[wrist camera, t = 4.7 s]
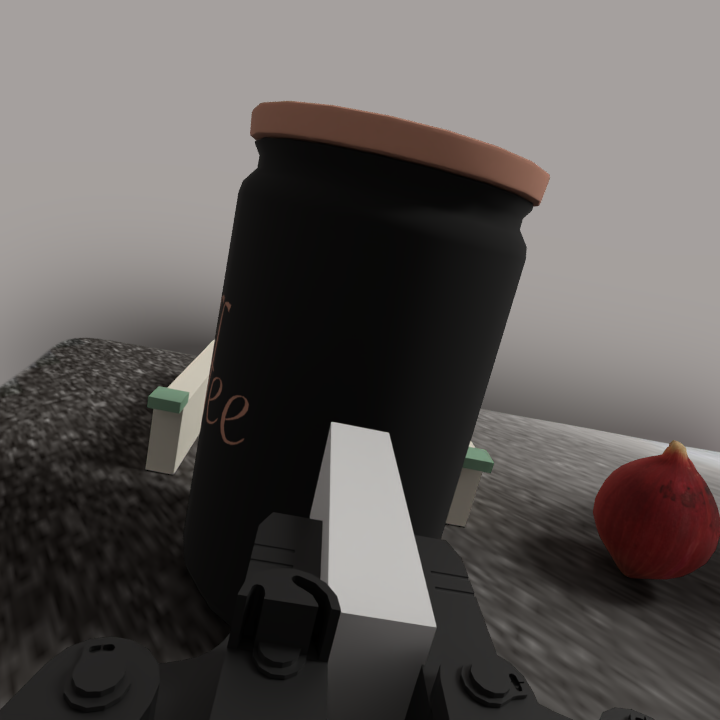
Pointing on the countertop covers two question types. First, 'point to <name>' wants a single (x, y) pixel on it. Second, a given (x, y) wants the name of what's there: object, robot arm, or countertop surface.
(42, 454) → the countertop surface
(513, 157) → the coffee jar
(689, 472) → the onion
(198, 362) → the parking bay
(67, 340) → the countertop surface
